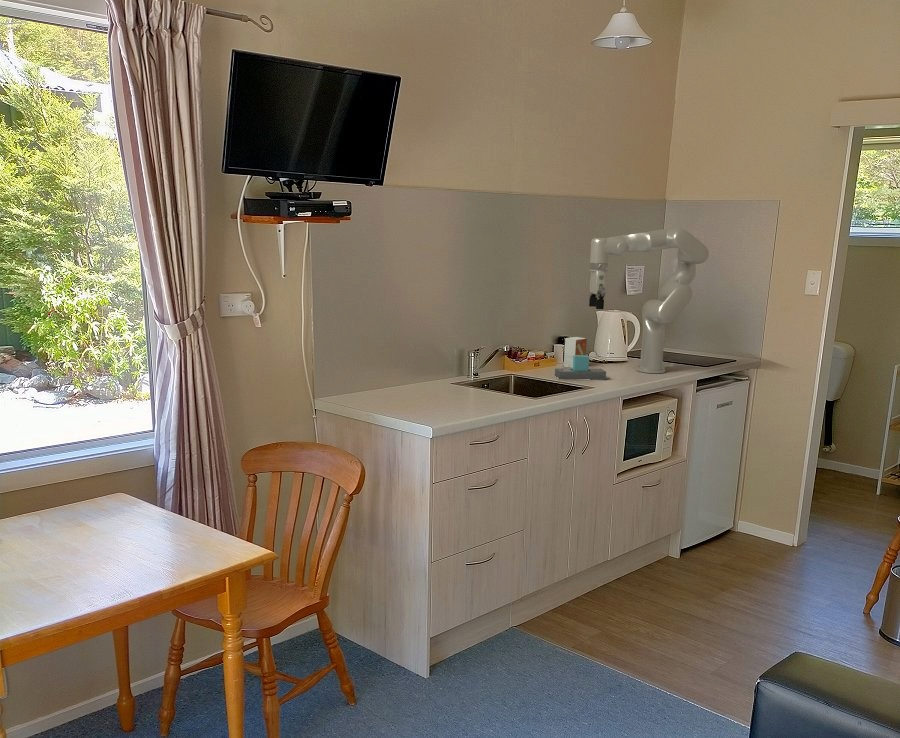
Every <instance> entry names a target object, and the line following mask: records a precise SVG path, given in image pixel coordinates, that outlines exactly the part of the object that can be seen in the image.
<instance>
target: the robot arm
mask: <svg viewBox="0 0 900 738" xmlns="http://www.w3.org/2000/svg"><path fill="white" fill-rule="evenodd" d="M668 249H669V250H670V249H677V252H676V254H677V255H676V256H677V268H676V270H675V271H674V272H673V274H672V275H671V276H670V278H669V279H668V280H667V281H666V282H665V284H664V285H663V286H661V288H660V291H659V296H660V298H661V299H662V300H659V299H649V300H647V301H646V302H645V303H644V304H643V306H642V308H641V309H642V310H641V316H642V318H641V319H642V335H641V351H640V363H639V365H637V367H636V371H637V372H639V373H645V374H664V373H666V368H673V367H674V363H673V362H666V361H664V359H663V358H664V348H665V347H664V346H665V337H666V336H665V334H666V330H665V329H666V328H665V325H669V324H671V323H673V322H674V321H675V320H676V318H678V316H679V315H680V314H681V313H682V312H683V311H684V310H685V309H686V308H687V306H688V305H689V303H690V302H691V301H692V298H693V289H692V287H691V286H690V285H691V284H692V283H693V281H694V279H695V278H696V275H697V265H700V264H701V265H702V264H703V263H705V262H707V260H708V259H709V255H710V252H709V249H708V247H707V245H705V244H704V243H703V242H701V241H700V240H699V239H698V238H697V237H695V236H694V235H693V234H692V233H690V232H689V231H688V230H686V229H684V228H679V227H678V228H675V227H671V228H664V229H663V228H662V229H657V230H652V231H645V232H642V231H641V232H636V233H631V234H623V235H616V236H610V237H605V238H604V237H594V238H592V239H591V242H590V253H589V254H590V258H589V271H590V277H589V300H588V301H589V302H588V305H589V307H590V308H591V307H592V308H593V307H595V309H596V310H604V306H605V296H606V294H607V292H608V291H607V287H608V280H607V279H608V278H607V276H608V275H607V272H608V267H609V266H608V265H609V256H615V257H623V256H624V255H626V254H627V253H650V252H654V251H661V250H668Z"/></svg>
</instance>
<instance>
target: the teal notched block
mask: <svg viewBox="0 0 900 738" xmlns="http://www.w3.org/2000/svg"><path fill="white" fill-rule="evenodd" d="M589 367H590V356H589V355H587V354H586V355H573V369H572V371H588V370H589V369H590V368H589Z"/></svg>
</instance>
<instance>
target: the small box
mask: <svg viewBox="0 0 900 738" xmlns="http://www.w3.org/2000/svg"><path fill="white" fill-rule="evenodd" d="M587 341H588V338H586V337H580V336H573V337H572V336H571V337H566V338H564V354H563V367H566V368H573V355H587V345H588V344H587V343H588V342H587Z"/></svg>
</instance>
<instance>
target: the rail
mask: <svg viewBox="0 0 900 738" xmlns="http://www.w3.org/2000/svg"><path fill="white" fill-rule="evenodd" d="M572 369H573V368H569V367H566V368H558V367H556V368H554V377H555V376H556V377H558V378H559V379H590V380H589V381H607V371H606V370H604V369H602V368H589V370H588V371H572ZM556 377H555V378H556Z"/></svg>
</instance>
